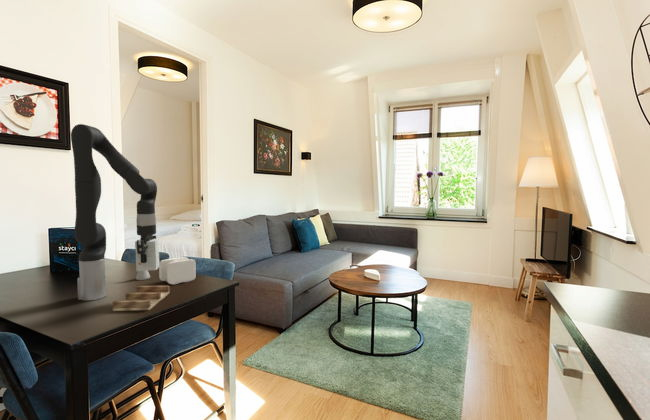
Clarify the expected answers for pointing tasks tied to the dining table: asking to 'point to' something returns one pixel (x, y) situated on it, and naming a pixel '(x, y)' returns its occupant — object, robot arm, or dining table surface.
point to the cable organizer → (177, 270)
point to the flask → (142, 275)
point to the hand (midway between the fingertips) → (147, 260)
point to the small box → (148, 256)
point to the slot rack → (142, 298)
